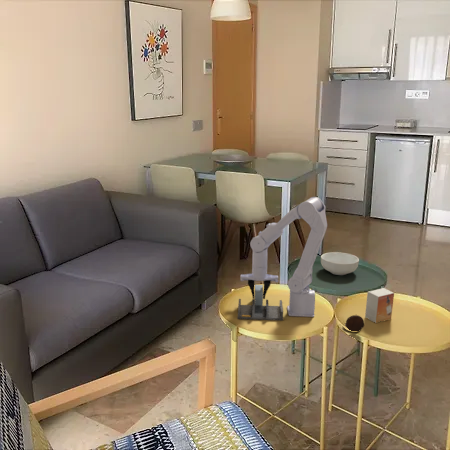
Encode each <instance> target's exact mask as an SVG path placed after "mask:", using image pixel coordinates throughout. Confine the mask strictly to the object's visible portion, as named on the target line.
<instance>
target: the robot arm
mask: <svg viewBox="0 0 450 450" xmlns="http://www.w3.org/2000/svg"><path fill="white" fill-rule="evenodd" d="M326 207H327V206H326V205H325V204H324V202H323V201H322V199H321V198H320V197H318V196H311V197H309V198H308V199H306V200H305V201H303V202H300V204H297V205H296V206H294V207H293V208H291V209H290V210H289V211H288V212H287V213H286V214H285V215H284V216H283V217H281V219H280V220H278V222H271V223H267V224H266V225H265V226H266V228H264V229H263V230H262V231H261V230H260V231H259V232H258V233H257V234H258V235H257V236H253V237H252V239H251V240H250V243H249V244H250V248H251V250H252V262H251V263H252V266H251V268H252V269H251V273H246V274H240V281H241V282H244V281H247V286H248V287H249V290H250V292H251V295H252V299H255V282H263V300H266V295H267V292H268V290H269V288H270V287H271V282H275V283H278V282H279V275H273V274H268V250H269V249H268V248H269V247H270V246H271V244H272V243H275V241H276V240H277V239H278V238H280V237H281V236H282V235H283V233H284V232H283V231H284V229H285V228H286V227H288V226H289V225H290V224H291V223H292V222H294V221H295V220H300V219H302V220H303V221H304V222H306V223H307V224H308V225H309V228H310V232H309V234H308V237H307V239H306V242H305V244H304V248H303V251H302V254H301V257H300V260H299V262H298V265H297V267H296V269H295V270H294V272H293V275H292V276H291V277H290V278H289V279H288V281H287V287H288V289H289V302H288V303H289V305H287V307H286V308H287V314H288V316H289V317H308V318H309V317H312V318H314V317H315V309H316V292H315V290H314V289H310V284H311V283H312V281H313V271H314V270H313V267H314V263H315V261H316V258H317V255H318V254H319V251H320V248H321V245H322V242H323V239H324V237H325V234H326V232H327V228H328V221H327V220H328V219H327V216H326Z"/></svg>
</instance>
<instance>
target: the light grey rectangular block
mask: <svg viewBox="0 0 450 450" xmlns="http://www.w3.org/2000/svg"><path fill="white" fill-rule="evenodd" d="M263 291H264V284H254V299H255V305H260V306H264V303H263V301H264V299H263Z"/></svg>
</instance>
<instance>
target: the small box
mask: <svg viewBox="0 0 450 450" xmlns="http://www.w3.org/2000/svg"><path fill="white" fill-rule="evenodd" d="M394 297H395V292H393V291H391V290H389V289H387V288H385V287H382V288H378V289H374V290H370V291H367V294H366V305H365V316H364V317H365V318H366V319H367V318H368V320H369V321H370V322H373V323H374V322H375V324H377V322H378V323H381V322H385V321H388V319H390V320H391V319H392V315H393V305H394ZM384 320H385V321H384ZM380 321H381V322H380Z"/></svg>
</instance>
